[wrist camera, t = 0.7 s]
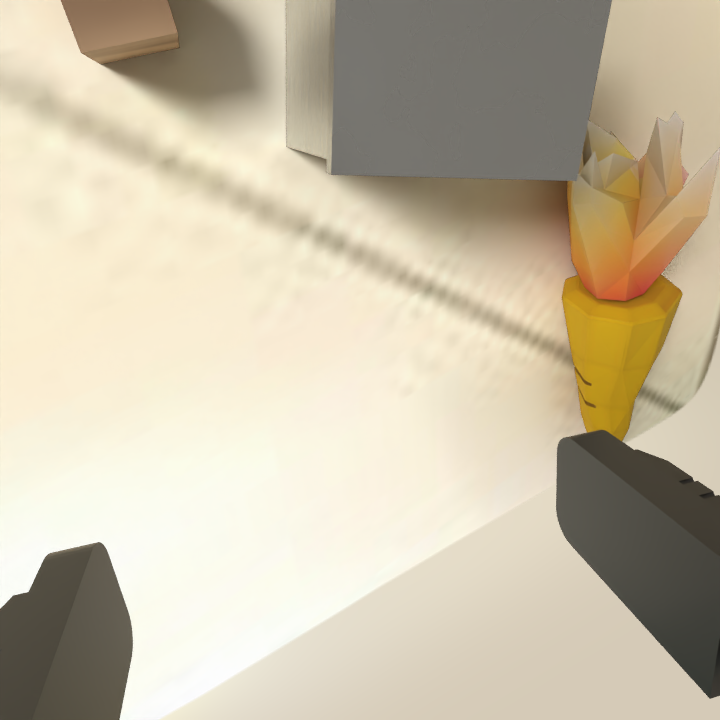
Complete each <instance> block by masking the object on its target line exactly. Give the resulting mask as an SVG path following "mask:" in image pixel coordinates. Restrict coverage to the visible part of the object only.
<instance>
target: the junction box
mask: <svg viewBox="0 0 720 720" xmlns="http://www.w3.org/2000/svg"><path fill="white" fill-rule="evenodd" d="M611 2H612V0H286V147H289V148H292V149H295V150H299V151H302V152H305V153H309V154H312V155H315V156H318V157H322V158H325V159H327V164H326V173H328V174H331V175H362V176H401V177H440V178H480V179H519V180H558V181H577V177H578V172H579V167H580V162H581V156H582V151H583V146H584V141H585V136H586V131H587V125H588V120H589V115H590V110H591V105H592V100H593V95H594V89H595V84H596V79H597V74H598V69H599V64H600V58H601V53H602V48H603V43H604V38H605V33H606V27H607V22H608V17H609V12H610V7H611Z"/></svg>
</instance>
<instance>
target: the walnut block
mask: <svg viewBox="0 0 720 720" xmlns="http://www.w3.org/2000/svg"><path fill="white" fill-rule="evenodd" d="M61 2H62V5H63V7H64V10H65V12H66V15H67V18H68V20H69V23H70V25H71V28H72V31H73V33H74V36H75V38H76V41H77V44H78V46H79V49H80V51H81V53H82V54H84V55H86V56H87V57H89V58H91V59H92V60H94V61H96V62H98V63H99V64H105V63H109V62H114V61H119V60H123V59H128V58H133V57H138V56H142V55H147V54H152V53H157V52H161V51H166V50H171V49H175V48H179V41H178V32H177V29H176V25H175V22H174V19H173V16H172V13H171V9H170V6H169V3H168V0H61Z"/></svg>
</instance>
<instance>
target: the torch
mask: <svg viewBox="0 0 720 720" xmlns="http://www.w3.org/2000/svg"><path fill="white" fill-rule="evenodd" d="M683 123H684V122H683V121H682V119H681V118H680V117H679V115H678V114H677V113H676V112H674V114H673V115H672V117H671V118H670V120H669V121H668V123H666V122H665V121H663V120H661V119H660V118H658V117H657V120H656V123H655V126H654V130H653V133H652V137H651V140H650V144H649V147H648V150H647V153H646V154H645V155H644V156H643V158H642V159H641V160H640V161H639V162H638V161H637V160H636V159H635V158H634V157H633V156H632V155H631V154H630V153H629V151H628V150H627V149H626V148H625V147H624V146H623V145H622V144H621V143H620V142H619V140H618V139H617V138H616V137H615V136H614V134H613V133H612V131H611V132H610V134H609V133H608V132H606V131H605V130H603V129H602V128H600V127H599V126H597V125H596V124H594V123H593V122H591V121H590V120H588V125H587V131H586V136H585V141H584V146H583V151H582V156H581V162H580V167H579V172H578V177H577V181H568V189H567V200H568V214H569V229H570V243H571V257H572V262H573V264H574V266H575V268H576V270H577V272H578V275H577V276H574V277H571V278H568V279H566V281H565V284H564V289H563V294H562V301H563V307H564V313H565V318H566V324H567V330H568V336H569V342H570V348H571V353H572V358H573V363H574V365H575V374H576V379H577V384H578V393H579V401H580V409H581V415H582V418H583V422H584V425H585V428H586V431H587V433H588V432H592V431H596V430H605V431H607V432H609V433H610V434H612V435H613V436H615V437H616V438H617V439H619V440H620V441H622V440H623V439H624V437H625V435H626V433H627V431H628V429H629V425H630V421H631V416H632V411H633V406H634V402H635V399H636V397H637V395H638V393H639V391H640V389H641V387H642V385H643V383H644V381H645V379H646V377H647V375H648V373H649V371H650V369H651V367H652V365H653V363H654V361H655V360H656V358H657V356H658V354H659V352H660V351H661V349H662V347H663V344H664V342H665V339H666V336H667V334H668V331H669V328H670V326H671V323H672V321H673V318H674V315H675V313H676V310H677V308H678V305H679V302H680V300H681V297H682V295H683V294H682V292H681V290H680V289H679V288H677V287H676V286H675V285H674V284H672V283H671V282H670V281H669V280H667V279H666V278H665V277H664V276H662V275H661V273H662V272H663V271H664V269H665V268H666V267H667V266H668V264H669V263H670V262H671V261H672V259H673V258H674V257H675V255H676V254H677V253H678V252H679V250H680V249H681V248H682V247H683V245H684V244H685V243H686V242H687V240H688V239H689V238H690V237H691V235H692V234H693V233H694V231H695V230H696V229H697V228H698V226H699V225H700V224H701V223H702V221H703V220H704V219H705V218H706V216H707V213H708V208H709V203H710V199H711V194H712V189H713V184H714V179H715V174H716V170H717V165H718V160H719V155H720V148H719V149H718V150H717V151H716V152H715V153H714V154H713V156H712V157H711V158H710V159H709V160H708V161H707V162H706V163H705V165H704V166H703V167H702V168H701V169H700V170H699V171H698V172H697V174H696V175H695V176H694V177H693V178H692V179H691V180H690V181H689V183H688V184H687V185H686V186H685V187H684V188H683V184H684V182H685V181H686V179H687V177H688V175H689V174H688V173H687V171H686V170H685V169H684V167H683V166H682V165H681V142H682V132H683Z"/></svg>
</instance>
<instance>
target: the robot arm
mask: <svg viewBox="0 0 720 720" xmlns="http://www.w3.org/2000/svg"><path fill="white" fill-rule="evenodd" d="M556 495H557V497H556V498H557V499H556V510H557V517H558V521H559V524H560V527H561V530H562V532H563V534H564V536H565V538H566V539H567V541H568V542H569V543H570V544H571V546H572V547H573V548H574V549H575V550H576V551H577V552H578V553H579V554H580V556H581V557H582V558H583V559H584V560H585V561H586V562H587V563H588V564H589V565H590V567H591V568H592V569H593V570H594V571H595V572H596V573H597V574H598V575H599V577H600V578H601V579H602V580H603V581H604V582H605V583H606V584H607V585H608V586H609V588H610V589H611V590H612V591H613V592H614V593H615V594H616V595H617V596H618V598H619V599H620V600H621V601H622V602H623V603H624V604H625V605H626V606H627V607H628V609H629V610H630V611H631V612H632V613H633V614H634V615H635V616H636V617H637V619H638V620H639V621H640V622H641V623H642V624H643V625H644V626H645V627H646V628H647V630H649V632H650V633H651V634H652V635H653V636H654V637H655V638H656V640H657V641H658V642H659V643H660V644H661V645H662V646H663V647H664V648H665V649H666V651H667V652H668V653H669V654H670V655H671V656H672V657H673V658H674V659H675V661H676V662H677V663H678V664H679V665H680V666H681V667H682V668H683V669H684V671H685V672H686V673H687V674H688V675H689V676H690V677H691V678H692V679H693V680H694V681H695V683H696V684H697V685H698V686H699V687H700V688H701V689H702V690H703V692H704V693H705V694H706V695H707V696H708V697H709V698H714V697H717V696H720V496H719V495H718V496H715V495H714V493H713V491H712V490H710V489H709V488H707V487H706V486H704V485H703V484H701V483H700V482H698V481H696V482H694V481H693V478H692V477H691V476H689V475H688V474H687V473H685V472H684V471H682V470H681V469H679V468H677V467H676V466H675V465H673V464H672V463H670V462H669V461H666V460H664V459H661V458H659V457H656V456H653V455H650V454H648V453H645V452H642V451H640V450H633V449H632V448H630V447H629V446H627V445H626V444H625V443H623V442H622V441H620V440H619V439H617V438H616V437H615V436H613V435H612V434H610V433H609V432H607V431H605V430H596V431H592V432H588V433H583V434H579V435H574V436H570V437H566V438H563V439H561V440H560V442H559V444H558V448H557V494H556ZM132 648H133V637H132V626H131V621H130V616H129V613H128V610H127V607H126V604H125V601H124V598H123V595H122V592H121V590H120V587H119V584H118V581H117V578H116V575H115V572H114V569H113V566H112V563H111V560H110V558H109V555H108V552H107V550H106V548H105V546H104V545H103V544H102V543H100V542H98V543H93V544H89V545H84V546H80V547H76V548H71V549H67V550H62V551H58V552H53V553H50V554H48V555H47V556H46V557H45V559H44V561H43V563H42V565H41V567H40V569H39V571H38V573H37V575H36V578H35V580H34V582H33V584H32V586H31V588H30V590H29V592H27V593H23V594H18V595H14V596H12V598H11V599H10V600H9V601H8V602H7V603H6V604H5V605H4V606H3V607H2V608H1V609H0V720H119V718H120V713H121V708H122V703H123V698H124V693H125V688H126V683H127V678H128V673H129V668H130V663H131V657H132Z"/></svg>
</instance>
